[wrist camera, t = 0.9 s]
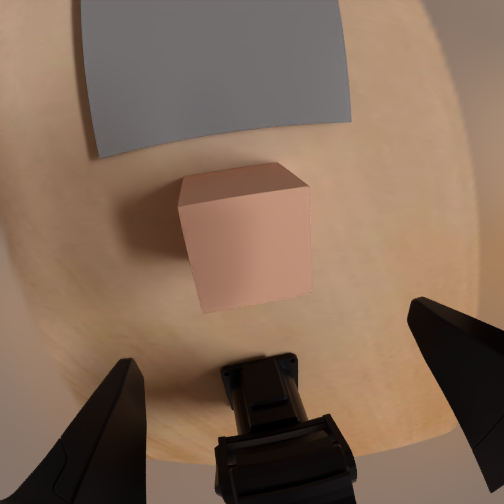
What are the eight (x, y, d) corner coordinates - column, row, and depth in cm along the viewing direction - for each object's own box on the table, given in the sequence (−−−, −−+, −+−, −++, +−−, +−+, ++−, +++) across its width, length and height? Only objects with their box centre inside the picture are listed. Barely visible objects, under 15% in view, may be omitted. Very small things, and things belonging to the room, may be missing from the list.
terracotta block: (284, 245, 20) (311, 293, 15) (200, 260, 19) (202, 314, 15) (277, 162, 17) (309, 186, 12) (183, 176, 17) (177, 207, 12)
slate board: (342, 120, 16) (351, 122, 15) (105, 155, 15) (99, 159, 14) (314, -68, 10) (320, -76, 9) (88, -45, 9) (82, -52, 8)
